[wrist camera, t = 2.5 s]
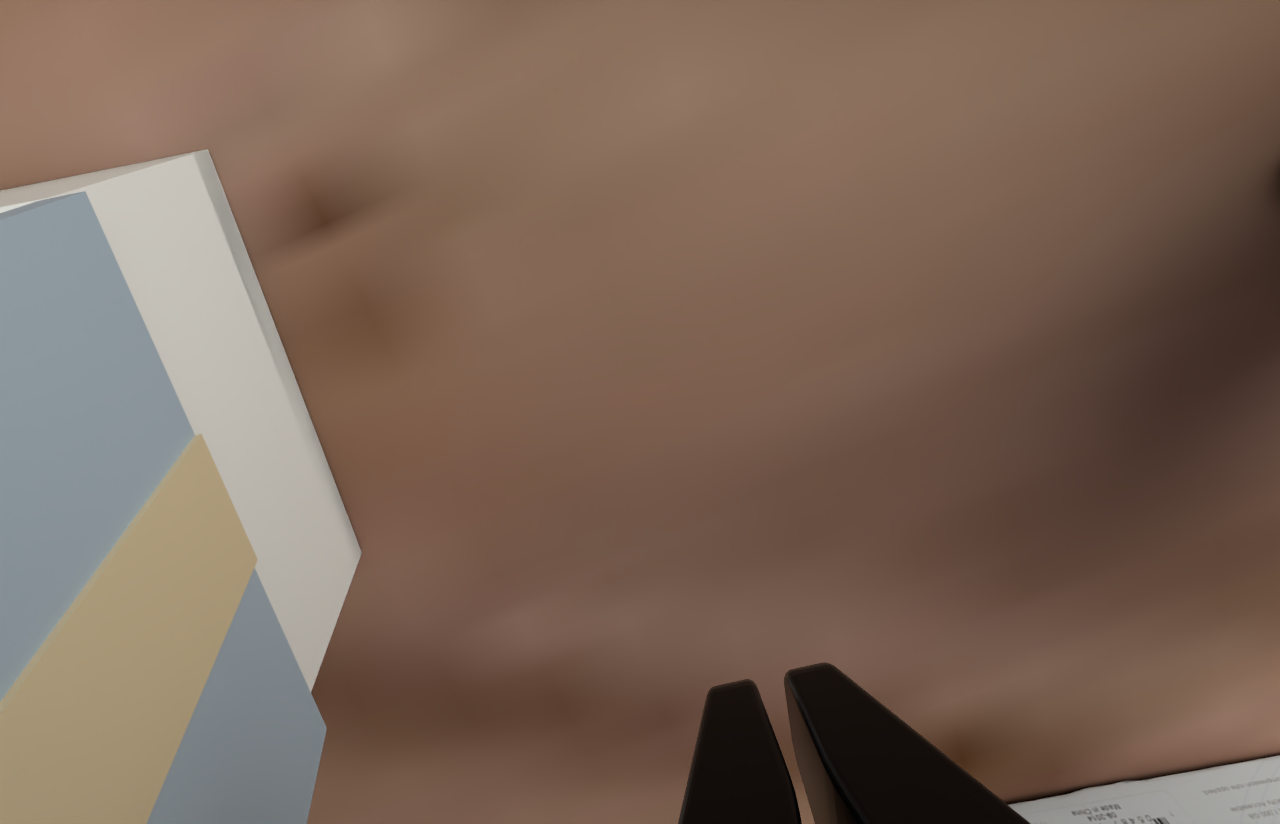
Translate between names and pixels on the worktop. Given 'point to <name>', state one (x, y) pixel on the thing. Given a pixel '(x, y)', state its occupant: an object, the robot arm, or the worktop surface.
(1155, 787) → the hard drive box
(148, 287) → the keepsake box
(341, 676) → the worktop surface
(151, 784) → the lid
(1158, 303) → the worktop surface
